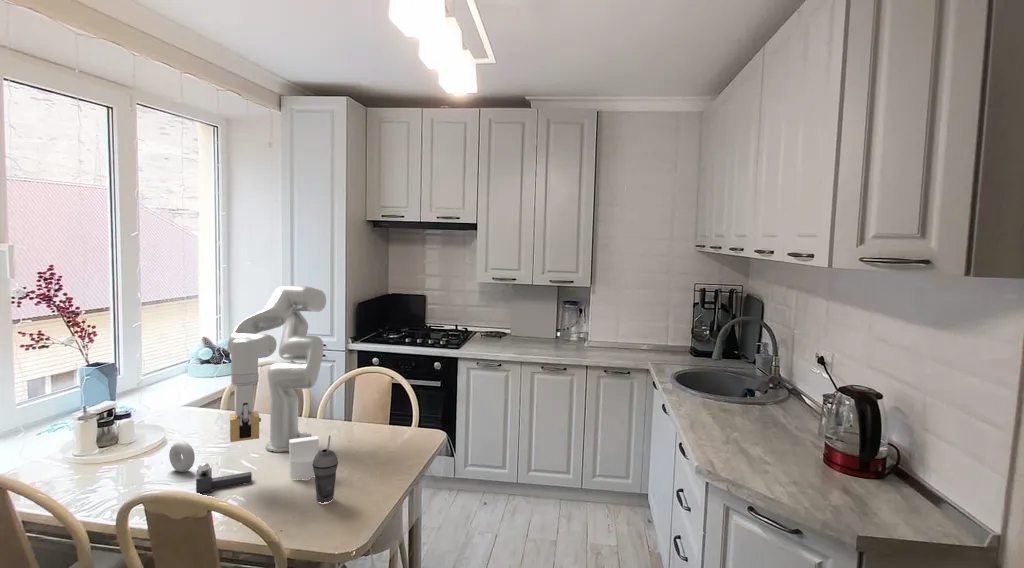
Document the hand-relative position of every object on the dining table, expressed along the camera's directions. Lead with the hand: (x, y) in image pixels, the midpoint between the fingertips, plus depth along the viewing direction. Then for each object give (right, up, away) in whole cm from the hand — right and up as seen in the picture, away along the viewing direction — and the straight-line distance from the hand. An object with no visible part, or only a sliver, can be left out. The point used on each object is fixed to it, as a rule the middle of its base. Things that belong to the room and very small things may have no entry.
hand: (244, 433), depth 167 cm
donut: (-24, -15, +7) cm, 29 cm away
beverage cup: (+28, -18, -9) cm, 35 cm away
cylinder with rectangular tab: (+16, -16, +8) cm, 24 cm away
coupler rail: (-5, -16, -2) cm, 17 cm away
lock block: (0, -1, 0) cm, 1 cm away
